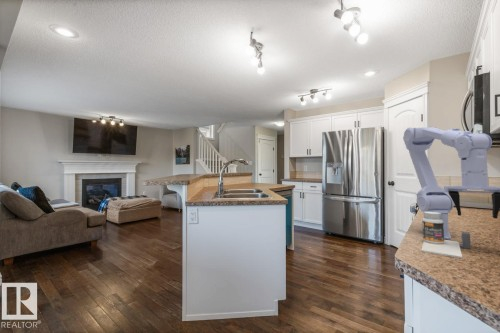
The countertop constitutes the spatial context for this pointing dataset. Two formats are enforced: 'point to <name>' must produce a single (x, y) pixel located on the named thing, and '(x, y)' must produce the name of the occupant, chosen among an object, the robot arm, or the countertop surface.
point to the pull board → (448, 247)
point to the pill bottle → (433, 228)
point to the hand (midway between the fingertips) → (476, 216)
